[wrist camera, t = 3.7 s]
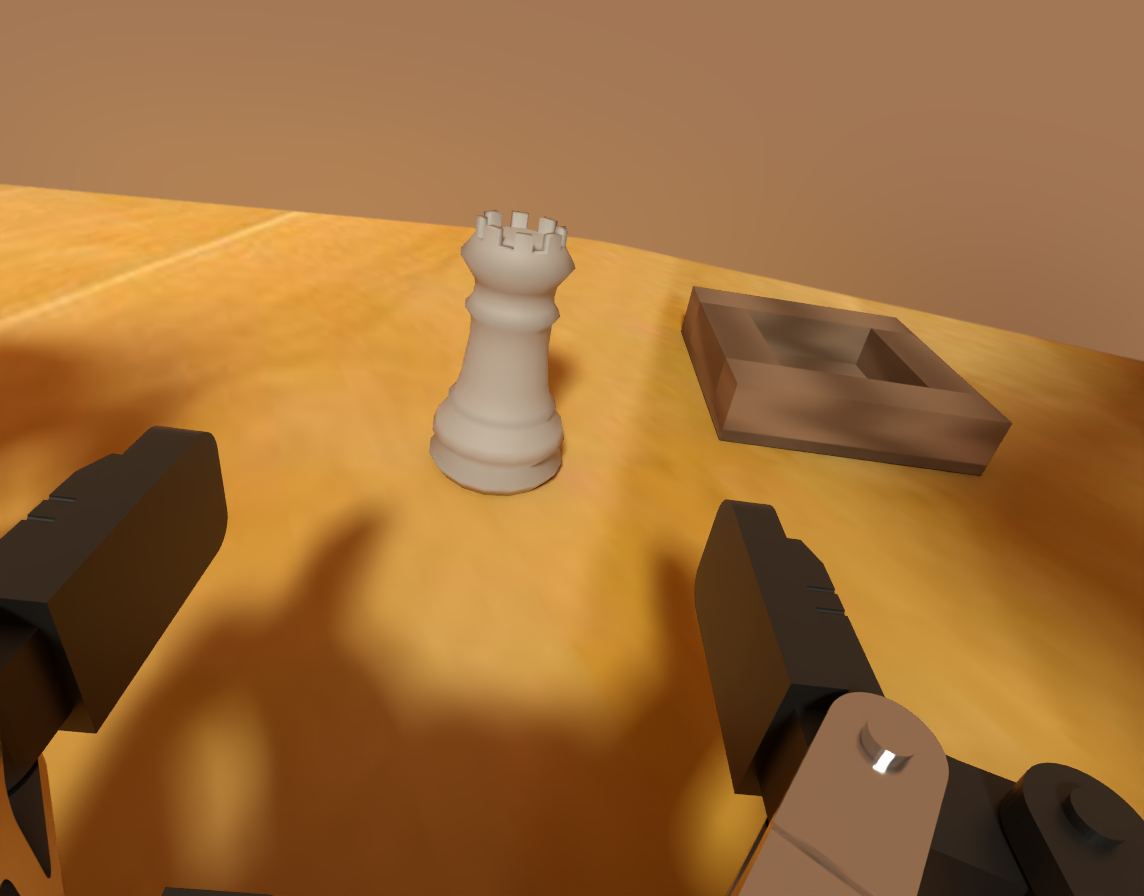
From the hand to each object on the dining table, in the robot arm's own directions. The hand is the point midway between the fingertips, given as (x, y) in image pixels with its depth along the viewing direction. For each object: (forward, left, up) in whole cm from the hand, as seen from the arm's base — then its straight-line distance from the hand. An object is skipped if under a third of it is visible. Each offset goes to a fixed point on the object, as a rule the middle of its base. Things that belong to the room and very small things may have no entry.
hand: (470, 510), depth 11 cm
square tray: (-14, -19, -6) cm, 25 cm away
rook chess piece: (0, -10, -6) cm, 12 cm away
